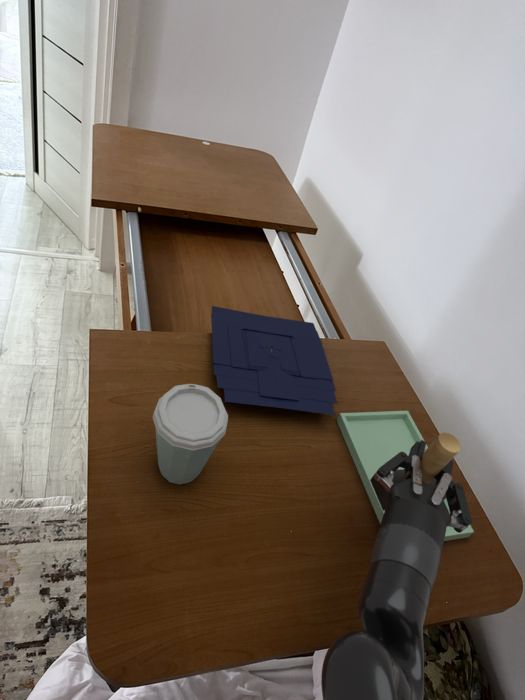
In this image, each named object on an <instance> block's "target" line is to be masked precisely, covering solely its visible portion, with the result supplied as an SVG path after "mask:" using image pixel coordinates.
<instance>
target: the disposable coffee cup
mask: <svg viewBox="0 0 525 700" xmlns="http://www.w3.org/2000/svg"><path fill="white" fill-rule="evenodd" d="M152 420H153V423H154V426H155V439H156V453H157V455H156V456H157V465H158V468H159V472H160V474H161V476H162V477H163V478H164V479H166V480H167V481H168V483H171V484H175V485H180V486H181V485H184V484H188V483H192V482H193V481H194V480H195V479H196V478H197V477H198V476H199V475H200V474H201V472H202V471H203V469H204V468H205V466H206V464H207V462H208V460H209V459H210V457H211V456H212V454H213V453H214V451H215V450H216V448H217V446H218V445H219V442H220V441H221V440H222V438H223V437H225V435H226V431H227V427H228V423H229V414H228V412H227V410H226V407H225V406H224V403H223V401H222V398H221V397H220V396H219V395H217V394H216V393H215V391H213V390H212V389H211V388H209V387H207V386H204V385H200V384H196V383H184V384H178V385H174V386H172V388H171V389H170V390H168V391H167V392H165V393H164V394H163V395H162V396H161V397H160V398H159V399H158V402H157V403H156V405H155V409H154V411H153V415H152Z"/></svg>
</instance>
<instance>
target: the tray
mask: <svg viewBox="0 0 525 700" xmlns="http://www.w3.org/2000/svg"><path fill="white" fill-rule="evenodd" d="M335 420H336V422H337V425H338V428H339V430H340V432H341V434H342V437H343V440H344V442H345V445H346V447H347V449H348V451H349V454H350V456H351V459H352V461H353V463H354V465H355V468H356V471H357V473H358V476H359V477H360V480H361V482H362V484H363V488H364V489H365V492H366V494H367V496H368V499H369V502H370V503H371V506H372V508H373V511H374V513H375V515H376V518H377V520H378V522H379V526H380V525H381V522H382V519H383V515H384V512H385V511H383V509H382V507H381V505H380V502H379V500H378V498H377V495H376V493H375V491H374V488H373V486H372V484H371V481H370V479H371V478H372V477H373V475H374V474H375V473H376V472H377V470H378V469H379V468H380V467H381V466H382V465H384V464H385V463H386V462H388V461H389V460H390V459H392V458H393V457H394V456H396V455H397V454H398V453H399V452H405V453H406V454H407V455H408V456H409V452H410V449H411V447H412V446H413V445H414V444H415V443H416V442H417V441H418V442H420V441H421V440H423V441H425V439H424V437H423V436H422V433H421V432H420V430H419V429H418V427H417V425H416V423H415V421H414V419H413V418H412V416H411V414H410V411H409V410H390V411H389V410H387V411H362V412H361V411H360V412H359V411H358V412H339V414H338V416H337V418H336V419H335ZM428 447H429V446H428V444H426V446H425V450H424V452H425V451H426V450H427V448H428ZM400 469H404V468H401V467H399V468H398V469H397V470H400ZM444 502H445V504H446V507H447V509H448V511H449V506H448V502H447V498H445V499H444ZM449 513H450V511H449ZM474 533H475V531H474V529H473V527H472V524H470V525H469V526H468V527H467V528H466V529H465V530H463V531H462V532H461V533H458V532H456V531H455V530H454V527H449V526H447V528H446V533H445V538H444V542H448V541H454V540H460V539H466V538H469V537H470V536H471V535H473V534H474Z"/></svg>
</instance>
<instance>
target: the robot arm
mask: <svg viewBox="0 0 525 700" xmlns="http://www.w3.org/2000/svg"><path fill="white" fill-rule="evenodd" d="M426 445H427V441H425V440H424V441H423V440H421V441H420V442H418V441H417V442H416V443H415V444H414V445H413V446H412V447H411V449H410V452H409V456H408V455H407V454H406V453H405V452H399V453H398V454H397V455H396V456H394V457H393V458H392V459H390V460H389V461H388V462H386V463H385V464H384V465H382V466H381V467H380V468H379V469H378V470H377V472H376V473H375V474H374V475H373V477H372V478H371V480H372V482H373V483H374V484H379V483H380V484H381V485H382V486H383V487H384V488H385V489H386V490H387V499H388V503H387V506H386V509H385V512H384V515H383V519H382V522H381V525H380V524H379V528H378V530H377V534H376V537H375V540H374V544H373V546H372V550H371V554H370V560H369V566H368V569H367V573H366V576H365V578H364V581H363V585H362V588H361V591H360V595H359V598H358V605H357V609H358V610H357V611H358V616H359V620H360V622H361V626H362V628H363V629H351V630H347V631H345V632H343V633H341V634H339V635H338V636H337V637H336V638H335V639H334V640H333V641H332V643H330V645H329V647H328V649H327V650H326V652H325V656H324V659H323V662H322V667H321V678H320V679H321V680H320V681H321V694H322V700H424V696H425V695H424V693H425V645H424V627H425V623H426V619H427V615H428V610H429V606H430V605H429V604H430V600H431V595H432V590H433V587H434V585H435V582H436V581H437V576H438V573H439V570H440V567H441V558H442V552H443V549H444V544H445V541H444V538H445V533H446V528H447V526H449V527H454V530H455V531H456V532H458V533H461V532H462V531H463V530H465V529H466V528H467V527H468V526H469V525H472V524H473V518H472V515H471V512H470V508H469V503H468V501H467V497H466V494H465V493H466V492H465V489H464V486H463V485H462V484H461V483H459V482H454V481H453V477H452V471H453V466H454V462H453V459H451V461H450V462H449V463H448V464H447V465H446V466H445V467H444V468H443V469H442V470H441V471H440V472H439V473H438V474H437V475H436V477H435V479H436V480H437V481H436V483H435V484H434V486H431V485H428V484H426V483H425V482H424V481H423V480H422V470H420V460H421V459H422V456H423V453H424V450H425V446H426ZM399 467H401V468H404V476H403V478H402V481H400V482H398V483H395V484H394V483H393V481H392V479H393V478H394V475H393V473H394V471H396V470H397V469H398V468H399ZM445 493H446V498H447V502H448V506H449V511H450V513H449V511H448V509H447V507H446V504H445V502H444V500H443V497H444V495H445Z"/></svg>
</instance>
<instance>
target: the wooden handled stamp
mask: <svg viewBox="0 0 525 700" xmlns="http://www.w3.org/2000/svg"><path fill="white" fill-rule="evenodd" d="M427 447H428V448H427V450H426V451H425V452H424V453H423V456H422V459H421V460H420V470H422V480H423V481H424V482H425V483H426V484H428V485H431V486H434V484H435V483H436V481H437V480H436V479H435V477H436V475H437V474H438V473H439V472H440V471H441V470H442V469H443V468H444V467H445V466H446V465H447V464H448V463H449V462H450V461H451V460H453V459H454V457H455V456H457V454H458V453H460V451H461V448H462V447H461V442H460V441H459V440H458V438H457V437H455V436H454V435H453V434H452V433H449V432H441V433H439V435H437V437H435V439H434V440H433V441H432V443H430V445H429V446H427ZM393 475H394V478H393V479H392V481H393V483H394V484H395V483H398V482H400V481H402V478H403V476H404V469H400V470H396V471H394V473H393ZM370 481H371V484H372V486H373V488H374V491H375V493H376V495H377V498H378V500H379V502H380V505H381V507H382V509H383V511H385V509H386V506H387V503H388V499H387V490H386V489H385V488H384V487H383V486H382V485H381V484H380V483H379V484H374V483H373V482H372V480H371V479H370ZM445 498H446V493H445V495H444V497H443V500H444V499H445Z"/></svg>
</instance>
